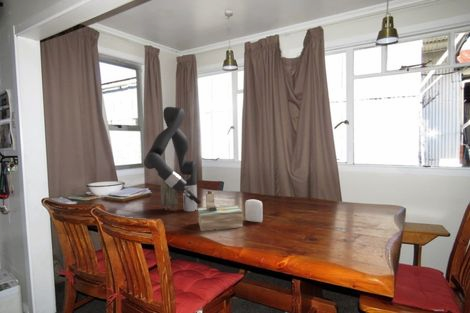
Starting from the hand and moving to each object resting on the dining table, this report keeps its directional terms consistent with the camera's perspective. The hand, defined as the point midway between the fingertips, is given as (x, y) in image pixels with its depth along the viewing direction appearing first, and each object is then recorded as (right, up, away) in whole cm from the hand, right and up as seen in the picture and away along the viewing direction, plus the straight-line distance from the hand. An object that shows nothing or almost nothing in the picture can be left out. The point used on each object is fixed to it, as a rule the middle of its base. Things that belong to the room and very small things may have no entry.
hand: (199, 203), depth 153 cm
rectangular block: (+11, -12, +3) cm, 17 cm away
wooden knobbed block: (+6, -4, +1) cm, 7 cm away
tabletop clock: (-26, -12, +40) cm, 49 cm away
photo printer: (+30, -12, +9) cm, 33 cm away
